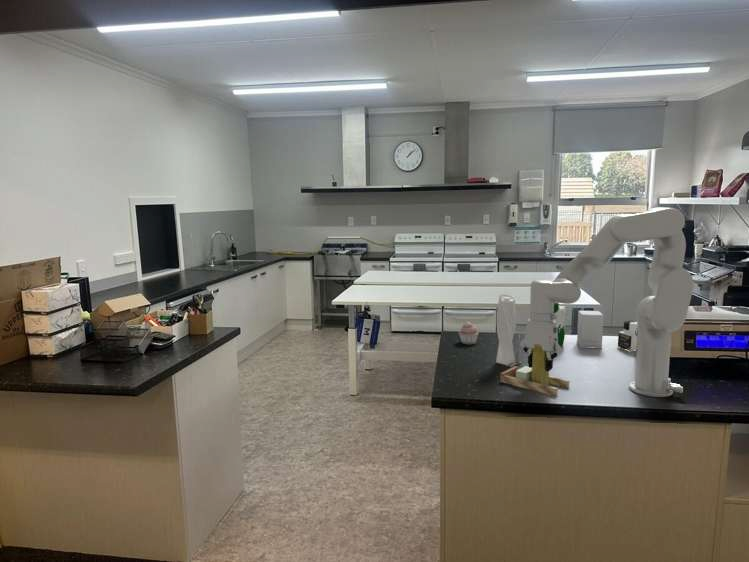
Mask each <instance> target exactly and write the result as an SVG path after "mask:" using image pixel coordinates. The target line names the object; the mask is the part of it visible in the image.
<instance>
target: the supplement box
mask: <svg viewBox="0 0 749 562" xmlns="http://www.w3.org/2000/svg"><path fill="white" fill-rule="evenodd" d="M577 313H578V315H577V316H578V317H577V332H576V333H577V335H576V339H577V340H576V344H579V345H578V346H579V348H580V347H595V348H594V349H600V348H602V349H603V334H604V333H603V332H604V331H603V330H604V314H603V313H602V312H601V311H600V310H578V312H577Z"/></svg>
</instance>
